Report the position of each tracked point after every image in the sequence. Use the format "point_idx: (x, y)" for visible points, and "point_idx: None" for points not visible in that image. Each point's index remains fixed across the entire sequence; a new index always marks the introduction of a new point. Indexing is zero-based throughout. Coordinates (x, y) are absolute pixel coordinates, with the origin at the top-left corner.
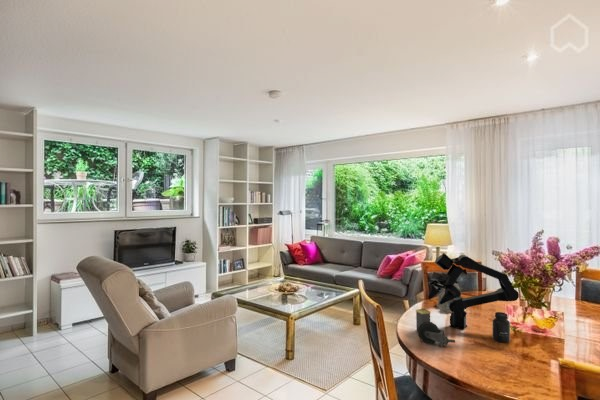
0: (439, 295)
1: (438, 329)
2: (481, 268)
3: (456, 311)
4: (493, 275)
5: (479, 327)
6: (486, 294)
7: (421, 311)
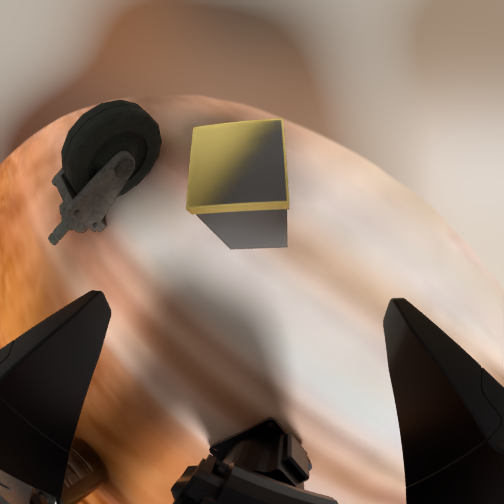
0: None
1: (67, 178)
2: None
3: (191, 476)
4: None
5: None
6: None
7: (220, 136)
